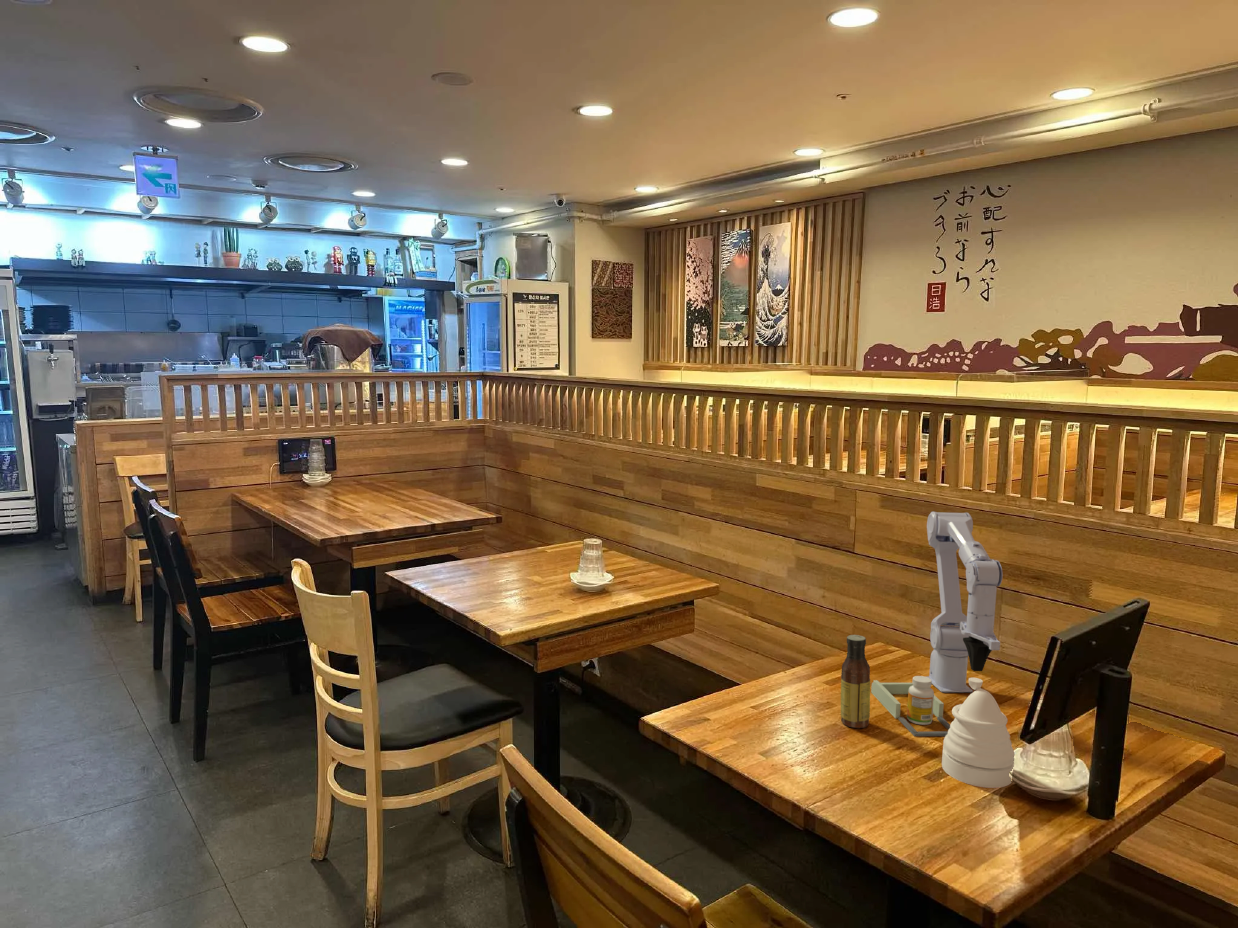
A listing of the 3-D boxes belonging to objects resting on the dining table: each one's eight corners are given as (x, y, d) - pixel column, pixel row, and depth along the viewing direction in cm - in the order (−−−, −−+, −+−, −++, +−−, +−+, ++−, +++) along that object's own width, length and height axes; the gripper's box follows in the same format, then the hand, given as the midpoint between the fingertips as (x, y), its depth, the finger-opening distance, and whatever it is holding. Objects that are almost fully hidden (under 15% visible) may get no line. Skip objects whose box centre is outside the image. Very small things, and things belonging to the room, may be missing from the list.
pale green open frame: (871, 692, 200) (872, 678, 199) (915, 692, 200) (915, 678, 200) (895, 718, 185) (896, 703, 184) (942, 718, 185) (943, 703, 185)
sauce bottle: (866, 718, 184) (870, 633, 182) (871, 730, 178) (877, 642, 176) (836, 716, 185) (841, 631, 183) (841, 728, 179) (845, 640, 176)
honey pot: (927, 761, 164) (933, 675, 162) (977, 752, 169) (983, 668, 167) (976, 792, 152) (982, 700, 150) (1028, 781, 157) (1035, 691, 155)
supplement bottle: (911, 713, 188) (913, 672, 187) (935, 719, 185) (937, 678, 183) (903, 720, 183) (906, 679, 182) (927, 727, 180) (930, 685, 179)
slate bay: (898, 719, 184) (898, 716, 184) (941, 719, 185) (941, 716, 185) (914, 736, 176) (914, 733, 176) (959, 735, 176) (959, 733, 176)
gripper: (949, 603, 193) (945, 658, 194) (979, 622, 178) (975, 682, 180) (978, 603, 193) (974, 658, 194) (1011, 622, 179) (1006, 681, 180)
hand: (976, 670), depth 187 cm, fingers closed
